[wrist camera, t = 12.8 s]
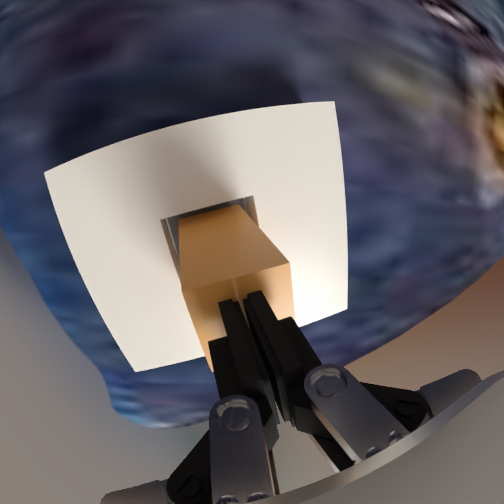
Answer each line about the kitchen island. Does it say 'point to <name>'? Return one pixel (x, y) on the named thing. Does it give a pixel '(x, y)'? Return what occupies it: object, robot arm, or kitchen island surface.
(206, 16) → the kitchen island surface
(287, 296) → the plug
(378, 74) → the kitchen island surface
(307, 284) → the socket block
